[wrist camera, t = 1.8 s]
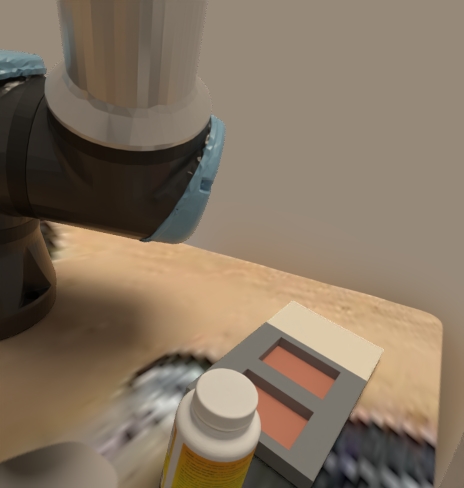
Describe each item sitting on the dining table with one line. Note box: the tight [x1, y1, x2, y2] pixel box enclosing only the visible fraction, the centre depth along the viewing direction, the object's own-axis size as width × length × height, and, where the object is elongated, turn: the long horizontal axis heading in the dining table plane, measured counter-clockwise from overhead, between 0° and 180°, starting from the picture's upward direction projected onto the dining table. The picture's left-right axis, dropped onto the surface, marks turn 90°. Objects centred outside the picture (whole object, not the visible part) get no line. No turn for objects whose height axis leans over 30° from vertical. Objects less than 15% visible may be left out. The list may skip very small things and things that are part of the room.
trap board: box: [184, 300, 384, 488], centre depth 40 cm, size 21×12×2 cm, turn 145°
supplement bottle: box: [160, 368, 261, 488], centre depth 25 cm, size 5×5×10 cm
